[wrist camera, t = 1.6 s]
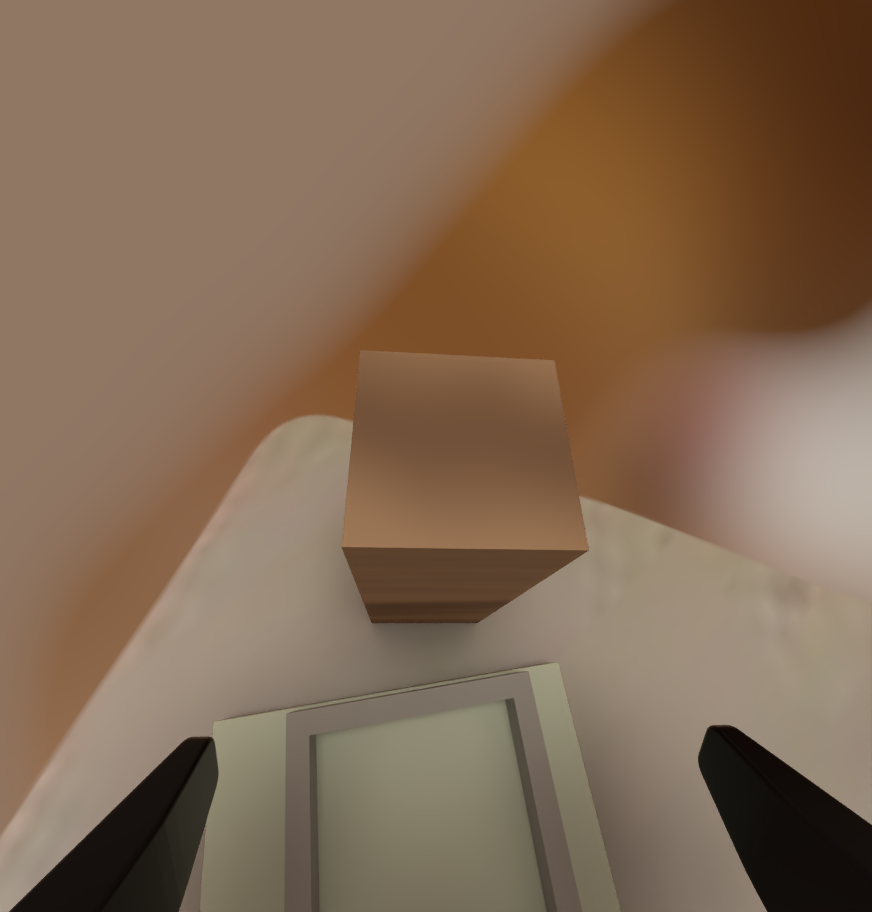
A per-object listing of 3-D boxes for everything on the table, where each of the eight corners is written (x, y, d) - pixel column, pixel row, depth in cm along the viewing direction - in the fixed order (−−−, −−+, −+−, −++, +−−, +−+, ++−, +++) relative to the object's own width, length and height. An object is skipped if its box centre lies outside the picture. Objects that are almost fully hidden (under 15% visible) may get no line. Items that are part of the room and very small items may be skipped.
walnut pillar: (477, 622, 20) (588, 550, 9) (371, 622, 20) (341, 547, 8) (472, 522, 22) (554, 360, 11) (377, 520, 22) (360, 350, 11)
